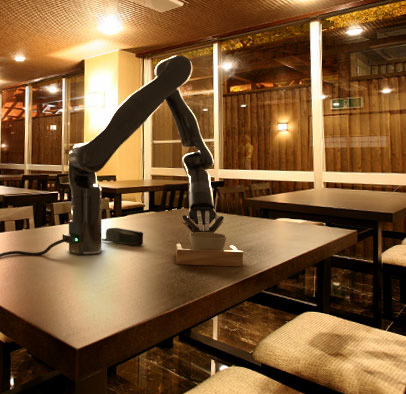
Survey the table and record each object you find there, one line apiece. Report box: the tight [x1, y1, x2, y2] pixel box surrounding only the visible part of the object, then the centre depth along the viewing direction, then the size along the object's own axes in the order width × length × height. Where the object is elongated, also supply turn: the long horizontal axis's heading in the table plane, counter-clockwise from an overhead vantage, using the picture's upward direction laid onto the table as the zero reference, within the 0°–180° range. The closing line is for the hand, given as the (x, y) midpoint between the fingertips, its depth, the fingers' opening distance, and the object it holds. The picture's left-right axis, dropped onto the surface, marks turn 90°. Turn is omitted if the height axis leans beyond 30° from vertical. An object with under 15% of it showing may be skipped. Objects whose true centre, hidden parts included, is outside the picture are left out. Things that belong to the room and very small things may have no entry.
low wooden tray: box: [175, 243, 244, 267], centre depth 111 cm, size 10×17×4 cm, turn 82°
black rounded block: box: [101, 227, 144, 247], centre depth 135 cm, size 5×3×15 cm
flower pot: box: [188, 232, 227, 250], centre depth 112 cm, size 10×10×7 cm
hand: (204, 243), depth 117 cm, fingers closed
